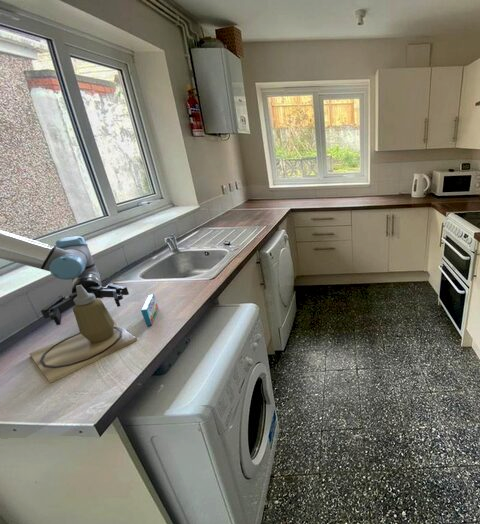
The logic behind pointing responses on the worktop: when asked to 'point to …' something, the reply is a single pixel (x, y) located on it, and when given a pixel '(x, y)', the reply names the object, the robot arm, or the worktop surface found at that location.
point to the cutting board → (77, 352)
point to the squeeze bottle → (92, 316)
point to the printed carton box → (150, 310)
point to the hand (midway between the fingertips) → (88, 311)
